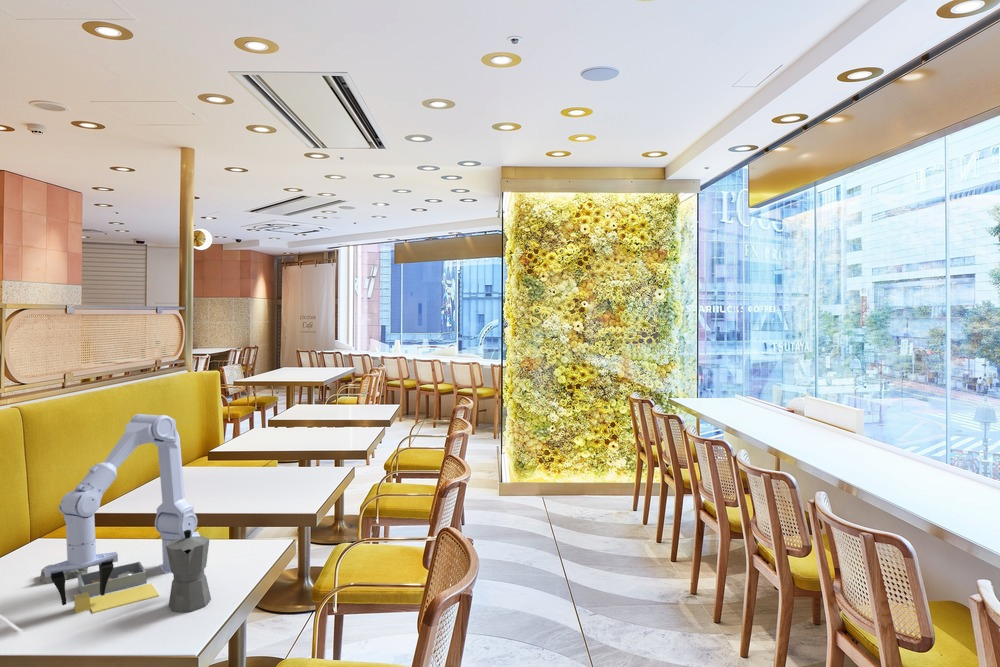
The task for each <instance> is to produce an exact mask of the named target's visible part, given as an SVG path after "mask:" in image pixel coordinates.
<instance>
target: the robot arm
mask: <svg viewBox="0 0 1000 667" xmlns="http://www.w3.org/2000/svg"><path fill="white" fill-rule="evenodd" d="M124 427H125V428H124V429H125V430H124V433H123V434H122V436H121V437H120V438H119V440H118V441H117V443H116V444H115V445H114V447H113V448H112V449H111V451H110V452H109V454H108V455H107V456H106V458H105V459H104V461H103V462H99V463H95V464H94V465H92V466H90V468H89V469H88V473H87V474H86V475H85V476H84V478H82V479H81V481H80V482H79V483H78V484H77V485H76V486H75V488H74V489H73V490H70V491H68V492H66V494H65V495H64V496H63V497H62V498H61V501H60V504H59V505H58V510H59V512H60V513H61V514H62V515H63V517H64V518H63V519H64V522H65V533H66V534H65V536H66V555H67V556H66V558H67V560H64V561H61V562H58V563H55V564H50V565H51V566H48V565H46V566H44V567H43V568H44V572H45V577H50V576H51V579H52V581H53V582H52V583H53V584H54V585H55V587H56V589H57V591H58V593H59V595H60V598H61V604H62V606H65V605H67V597H66V580H65V577H64V572H65V573H67V572H69V571H73V570H77V571H79V570H82V568H87V567H88V568H90V567H96V566H98V569H99V570H98V571H99V573H100V594H101V595H100V596H102V595H106V593H105V588H106V584H107V581H108V578H109V576H110V574H111V572H112V570H113V567H115V566H114V564H113V563H117V562H119V554H118V552H117V551H113V552H107V553H98V554H97V550H96V549H97V547H96V526H95V525H96V523H95V522H96V521H95V513H96V512H98V510H99V509H100V507H101V502H102V498H103V496H104V494H105V492H106V491H107V490H108V489H109V487H111V485H112V484H113V482H115V480H116V479H117V477H118V473H117V470H118V469H119V467H121V465H122V464H123V463H124V462H125V461H126V460H127V459H128V458H129V456H131V454H132V453H133V452H134V451H135V450H136V448H138V447H139V446H141V445H142V446H143V445H145V444H150V443H151V444H153V445H155V446H156V447H157V454H158V465H159V476H160V477H159V479H160V488H161V502H162V503H160V504H159V506H157V508H156V510H155V511H156V517H155V519H154V528H155V531H156V532H158V533H159V537H161V547H162V548H161V550H162V563H161V564H158V567H159V568H160V570H161V571H162V572H163V573H164V574H165V575H167V574H173V573H172V572H171V569H170V564H169V559H168V554H167V549H166V545H168V544H169V543H170V542H172V541H173V540H177V539H181V538H185V535H184V531H186V530H191V533H192V537H193V536H201V535H200V533H199V531H195V530H197V526H198V518H197V517H198V516H197V514H196V513H195V509H194V506H193V505H192V504H191V503H190V502H189V501H187V500H186V498H185V486H184V485H185V484H184V475H183V474H184V473H183V472H184V471H183V460H182V448H181V438H180V434H179V432H178V430H177V423H176V419H174V418H172V417H170V415H166V414H161V415H159V414H157V415H156V414H144V413H137V414H135V415H133V417H131V419H130V421H128V422H127V424H125V426H124Z"/></svg>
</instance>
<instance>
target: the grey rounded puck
mask: <svg viewBox="0 0 1000 667" xmlns="http://www.w3.org/2000/svg"><path fill="white" fill-rule="evenodd" d="M131 574H134V572H133V571H125V572H121V573H119V574H118V577H123V576H127V575H131Z"/></svg>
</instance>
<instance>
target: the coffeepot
mask: <svg viewBox="0 0 1000 667" xmlns="http://www.w3.org/2000/svg"><path fill="white" fill-rule="evenodd" d="M184 535H185V538H181V539H177V540H173V541H172V542H170V543H169V544H168V545H166V549H167V554H168V559H169V564H170V569H171V572H172V573H171V574H173V579H172V581H171V586H170V587H171V588H170V594H169V600H168V605H167V607H168V608H169V610H170V611H172V612H174V613H192V612H195V611H197V610H201V609H203V608H205V607H207V605H209V604H210V601H212V598H211V593H210V588H209V583H208V579H207V575H206V574H205V569H206V567H207V563H208V556H209V555H208V554H209V546H210V538H208V537H207V536H204V535H200V536H193V537H192V533H191V530H186V531H184ZM208 603H209V604H208Z"/></svg>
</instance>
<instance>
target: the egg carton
mask: <svg viewBox="0 0 1000 667" xmlns="http://www.w3.org/2000/svg"><path fill="white" fill-rule="evenodd" d="M51 565H52V564H48V565H47V566H51ZM88 569H89V567H87V568H82V569H81V570H80V571H79V570H73V571H69V572H64V577H65V581H67V580H68V579H71V578H78V575H82V574H86V573H89V572H88V571H89V570H88ZM40 578H41V584H52V583H53V581H52V579H51V576H50V577H45V572H44V567H43V568H42V569H41V570H40Z"/></svg>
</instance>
